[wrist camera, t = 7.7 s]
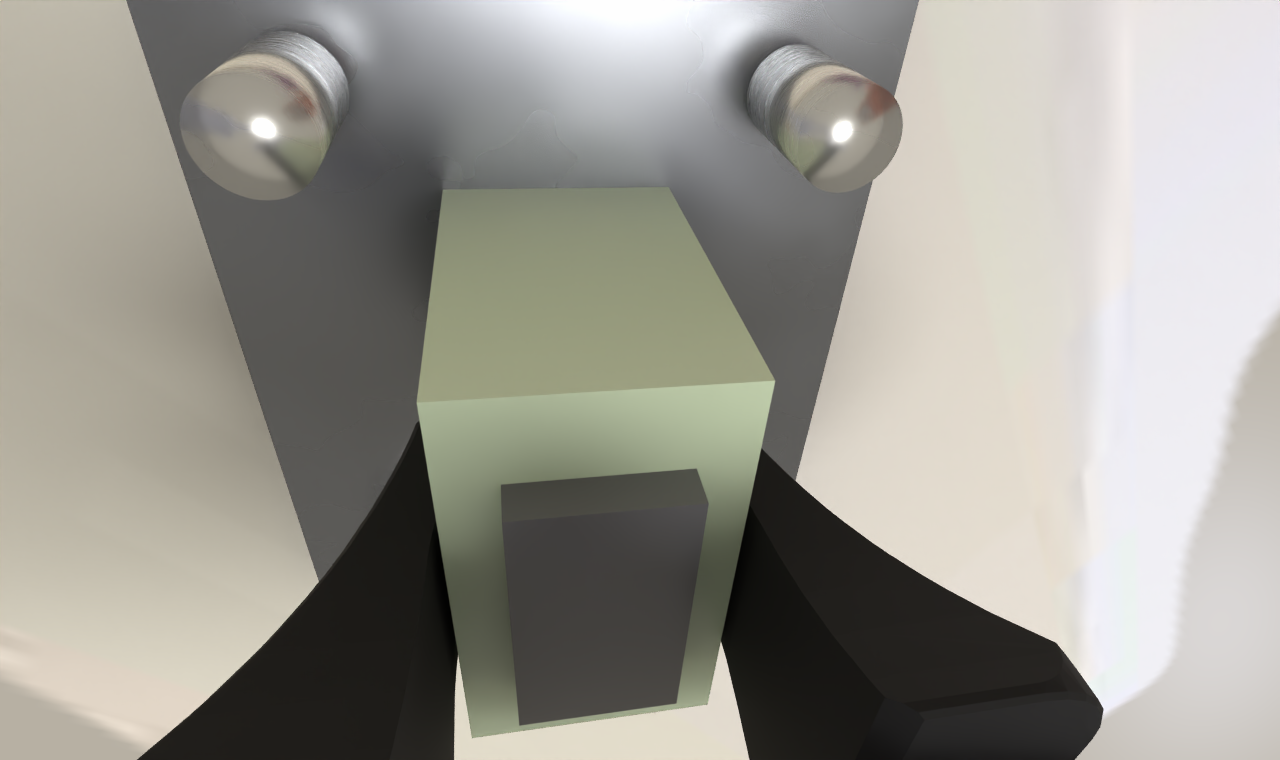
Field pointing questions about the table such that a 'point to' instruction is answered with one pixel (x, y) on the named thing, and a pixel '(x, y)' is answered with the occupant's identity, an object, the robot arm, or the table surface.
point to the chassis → (506, 179)
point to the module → (585, 451)
